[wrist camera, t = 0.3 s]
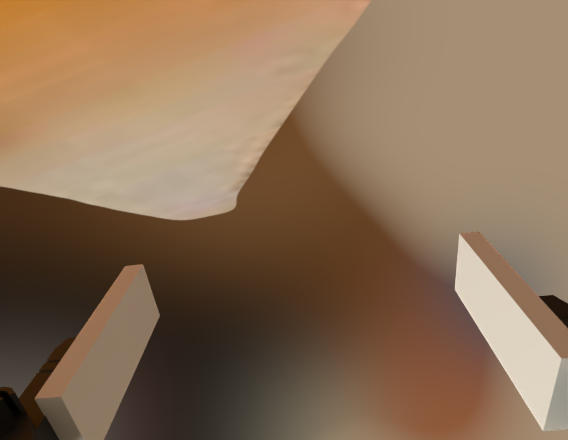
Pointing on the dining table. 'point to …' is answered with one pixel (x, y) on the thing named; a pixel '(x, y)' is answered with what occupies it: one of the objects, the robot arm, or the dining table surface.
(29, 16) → the dining table surface
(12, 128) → the dining table surface
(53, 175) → the dining table surface
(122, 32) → the dining table surface
